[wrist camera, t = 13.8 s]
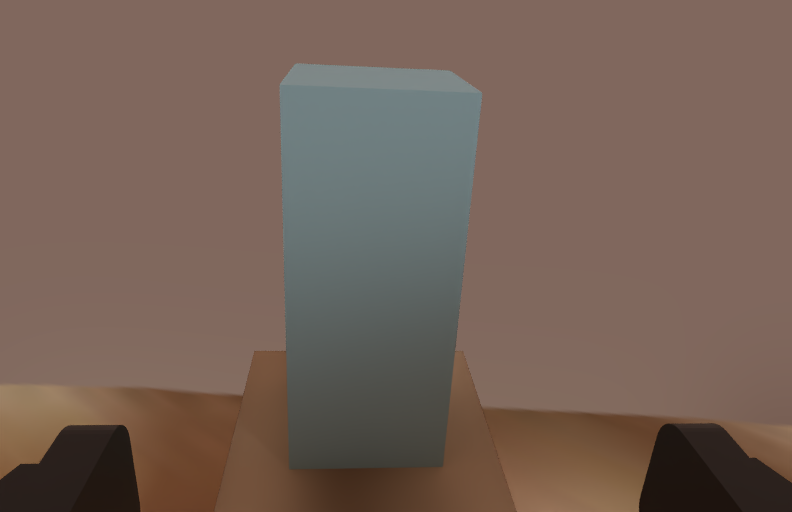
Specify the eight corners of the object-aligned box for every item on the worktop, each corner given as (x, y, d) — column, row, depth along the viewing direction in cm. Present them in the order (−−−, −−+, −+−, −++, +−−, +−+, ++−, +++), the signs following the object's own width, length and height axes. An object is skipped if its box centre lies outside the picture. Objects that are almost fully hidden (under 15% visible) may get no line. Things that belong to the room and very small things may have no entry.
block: (447, 490, 29) (462, 351, 26) (487, 681, 21) (516, 512, 18) (261, 494, 29) (254, 351, 25) (228, 694, 20) (211, 520, 17)
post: (424, 378, 24) (450, 70, 20) (442, 466, 20) (482, 93, 15) (299, 378, 24) (295, 63, 19) (289, 469, 19) (279, 84, 15)
